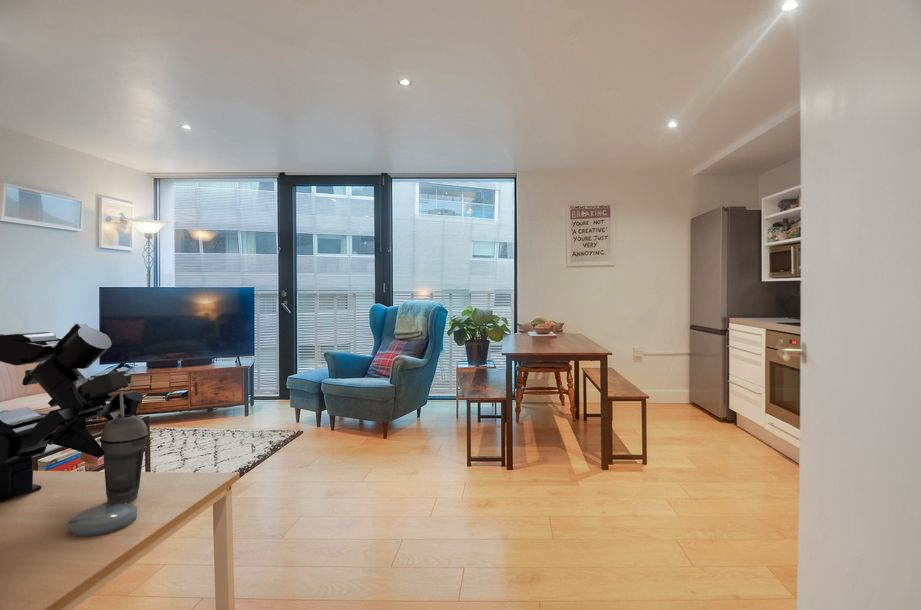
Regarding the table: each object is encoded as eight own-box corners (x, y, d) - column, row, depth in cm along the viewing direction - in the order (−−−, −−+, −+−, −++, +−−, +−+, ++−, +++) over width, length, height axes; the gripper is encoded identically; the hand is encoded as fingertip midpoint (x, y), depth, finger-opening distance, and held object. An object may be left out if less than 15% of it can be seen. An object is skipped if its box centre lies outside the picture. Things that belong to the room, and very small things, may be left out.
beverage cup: (120, 510, 79) (124, 397, 79) (86, 505, 81) (90, 394, 81) (156, 493, 86) (159, 389, 86) (124, 489, 88) (128, 386, 88)
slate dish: (53, 531, 72) (53, 523, 72) (110, 506, 80) (110, 499, 80) (95, 540, 69) (96, 532, 69) (149, 514, 78) (150, 507, 78)
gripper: (49, 363, 74) (112, 432, 74) (135, 351, 93) (186, 406, 92) (2, 408, 75) (65, 478, 74) (97, 387, 93) (148, 443, 93)
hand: (122, 447), depth 83 cm, fingers open, 9 cm apart
